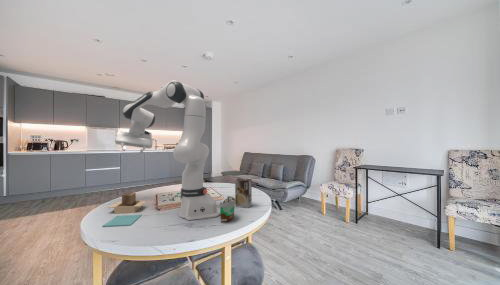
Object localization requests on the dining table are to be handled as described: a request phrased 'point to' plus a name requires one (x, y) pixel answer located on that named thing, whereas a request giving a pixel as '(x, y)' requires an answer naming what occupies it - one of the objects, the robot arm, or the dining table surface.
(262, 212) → the dining table surface
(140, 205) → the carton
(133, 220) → the board
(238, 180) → the coffee box
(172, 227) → the dining table surface
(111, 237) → the dining table surface
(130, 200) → the block
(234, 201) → the food container
